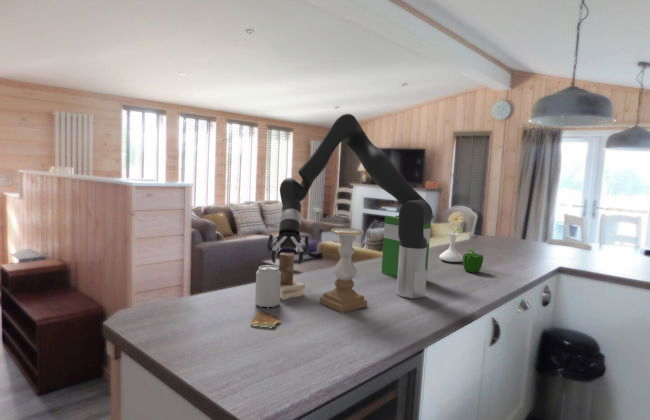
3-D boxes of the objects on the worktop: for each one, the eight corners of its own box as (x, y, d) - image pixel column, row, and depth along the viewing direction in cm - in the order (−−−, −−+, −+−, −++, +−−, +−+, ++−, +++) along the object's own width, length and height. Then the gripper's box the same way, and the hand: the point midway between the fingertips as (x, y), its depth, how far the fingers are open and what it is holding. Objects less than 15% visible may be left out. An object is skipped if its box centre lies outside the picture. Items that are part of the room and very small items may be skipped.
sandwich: (260, 314, 122) (260, 308, 122) (285, 316, 121) (286, 310, 121) (249, 328, 111) (249, 321, 111) (277, 331, 110) (277, 324, 110)
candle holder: (318, 302, 133) (322, 228, 131) (344, 297, 140) (348, 226, 138) (342, 313, 125) (346, 234, 122) (367, 306, 132) (372, 231, 129)
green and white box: (381, 272, 176) (385, 216, 174) (393, 270, 181) (397, 215, 178) (414, 282, 163) (419, 221, 160) (426, 280, 167) (431, 221, 165)
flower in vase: (434, 258, 210) (438, 209, 207) (454, 258, 213) (458, 209, 210) (449, 265, 197) (453, 212, 195) (470, 264, 201) (474, 212, 198)
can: (256, 309, 124) (257, 270, 123) (253, 301, 131) (255, 264, 130) (281, 308, 126) (283, 269, 125) (277, 300, 133) (279, 263, 132)
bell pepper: (486, 273, 184) (488, 251, 183) (471, 274, 181) (473, 251, 180) (473, 269, 192) (474, 247, 191) (458, 269, 189) (460, 247, 188)
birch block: (304, 296, 140) (304, 284, 140) (283, 301, 134) (283, 289, 134) (287, 289, 147) (287, 278, 147) (266, 294, 141) (266, 282, 140)
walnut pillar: (292, 281, 143) (294, 252, 142) (292, 285, 138) (293, 255, 137) (279, 281, 143) (280, 252, 142) (278, 284, 138) (279, 254, 137)
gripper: (270, 216, 148) (265, 255, 138) (310, 218, 148) (308, 257, 138) (270, 229, 154) (266, 267, 144) (309, 231, 154) (307, 269, 144)
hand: (286, 262), depth 141 cm, fingers open, 8 cm apart
